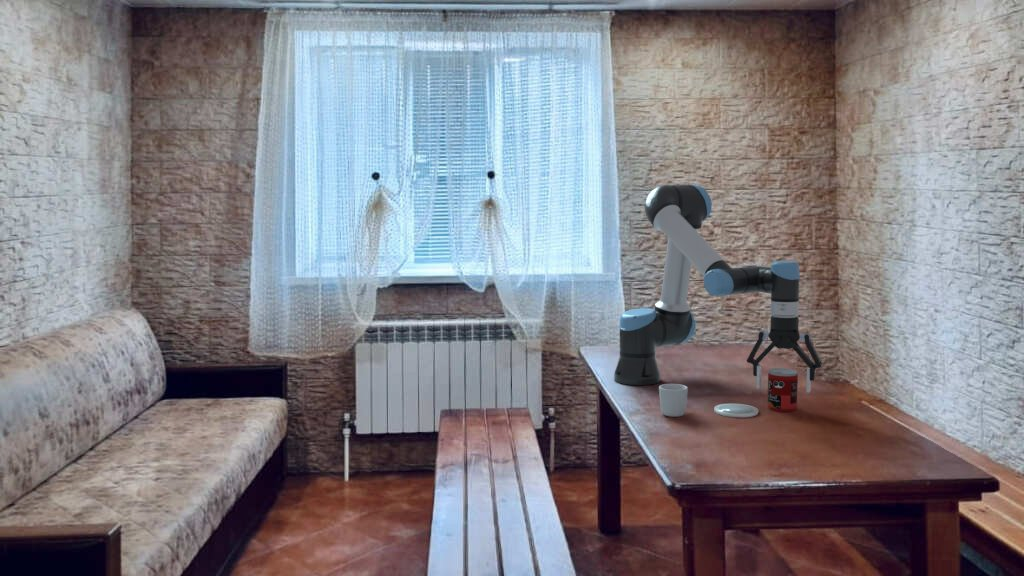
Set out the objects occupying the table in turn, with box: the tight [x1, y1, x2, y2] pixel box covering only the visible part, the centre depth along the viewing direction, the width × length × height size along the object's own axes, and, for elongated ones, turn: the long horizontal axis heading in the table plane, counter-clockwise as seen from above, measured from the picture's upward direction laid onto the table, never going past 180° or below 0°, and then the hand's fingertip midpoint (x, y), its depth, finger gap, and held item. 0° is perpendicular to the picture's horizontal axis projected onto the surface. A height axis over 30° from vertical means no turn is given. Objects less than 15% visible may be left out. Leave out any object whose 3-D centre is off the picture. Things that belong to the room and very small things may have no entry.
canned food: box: [767, 367, 799, 413], centre depth 234 cm, size 8×8×11 cm
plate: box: [713, 403, 759, 419], centre depth 232 cm, size 12×12×1 cm
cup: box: [658, 383, 689, 418], centre depth 231 cm, size 11×8×8 cm
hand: (783, 389), depth 234 cm, fingers open, 13 cm apart
